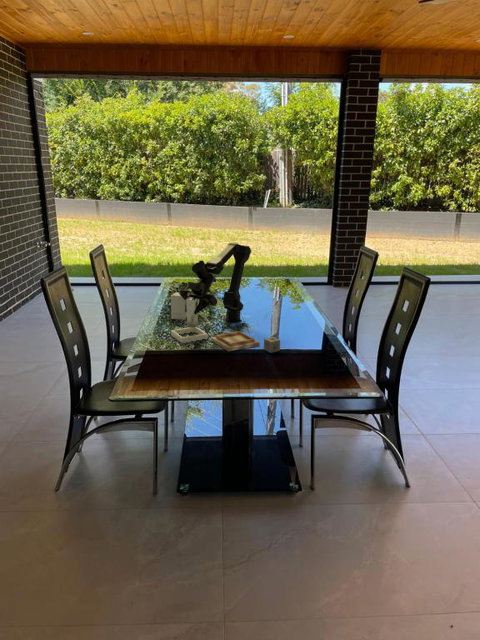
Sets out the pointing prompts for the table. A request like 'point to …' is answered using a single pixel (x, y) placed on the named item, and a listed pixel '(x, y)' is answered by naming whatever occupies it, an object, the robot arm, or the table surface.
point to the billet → (192, 312)
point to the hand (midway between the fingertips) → (190, 313)
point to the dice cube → (271, 344)
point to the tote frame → (190, 338)
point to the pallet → (235, 341)
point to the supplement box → (178, 307)
